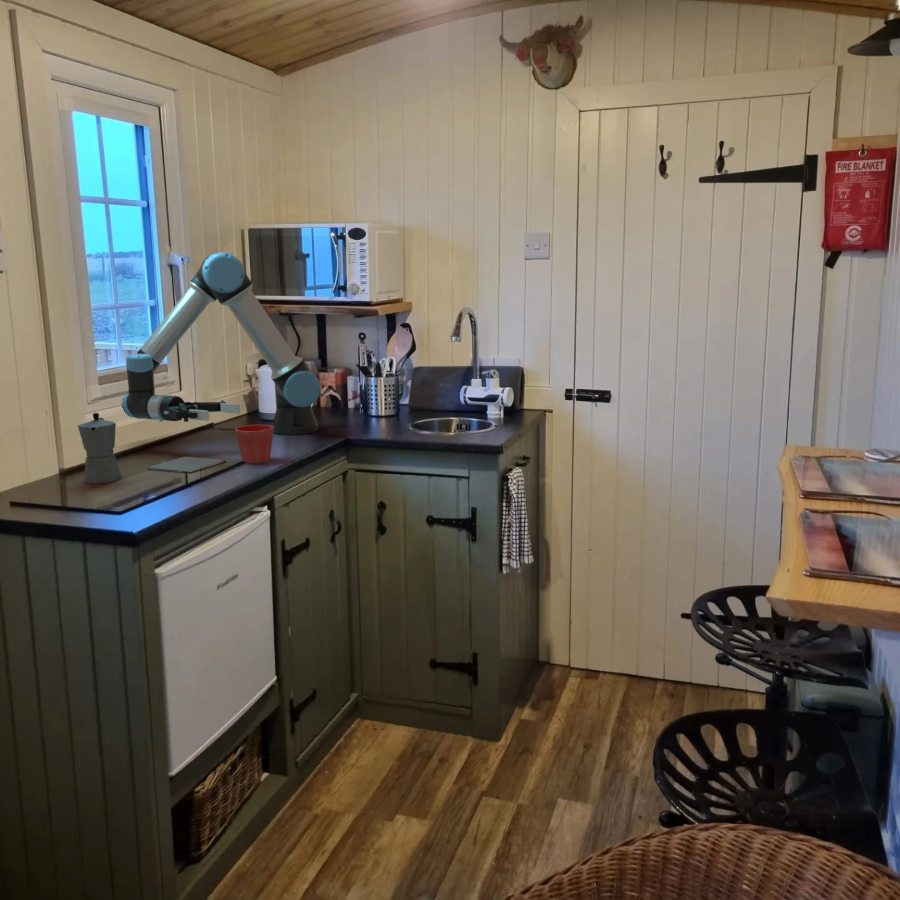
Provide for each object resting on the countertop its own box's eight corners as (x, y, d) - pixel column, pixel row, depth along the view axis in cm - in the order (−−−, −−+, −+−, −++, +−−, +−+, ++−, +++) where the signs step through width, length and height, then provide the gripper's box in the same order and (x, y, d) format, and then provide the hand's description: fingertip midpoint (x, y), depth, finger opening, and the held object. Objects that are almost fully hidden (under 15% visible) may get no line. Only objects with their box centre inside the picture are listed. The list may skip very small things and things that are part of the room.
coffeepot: (118, 483, 229) (111, 415, 225) (79, 486, 227) (71, 418, 223) (125, 471, 244) (119, 407, 240) (89, 473, 242) (82, 409, 238)
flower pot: (282, 457, 256) (280, 424, 254) (262, 465, 246) (260, 431, 244) (250, 456, 259) (248, 423, 257) (230, 464, 249) (227, 430, 247)
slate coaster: (185, 458, 258) (185, 456, 258) (225, 462, 252) (225, 460, 252) (147, 469, 245) (147, 467, 245) (189, 473, 239) (189, 471, 238)
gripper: (196, 414, 274) (251, 418, 265) (137, 427, 252) (194, 432, 243) (195, 390, 273) (250, 393, 264) (135, 401, 251) (193, 405, 242)
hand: (223, 412), depth 254 cm, fingers open, 13 cm apart
